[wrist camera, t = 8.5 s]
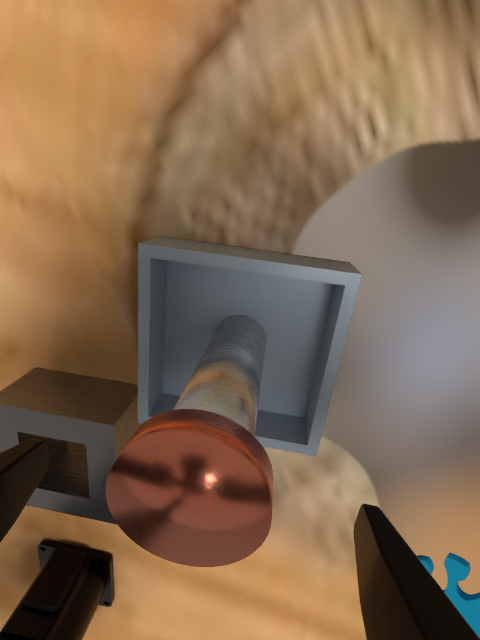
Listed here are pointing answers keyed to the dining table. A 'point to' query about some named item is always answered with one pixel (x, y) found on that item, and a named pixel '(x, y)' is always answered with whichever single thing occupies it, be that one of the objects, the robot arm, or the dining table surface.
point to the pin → (201, 461)
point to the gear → (472, 607)
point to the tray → (258, 303)
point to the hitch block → (71, 435)
